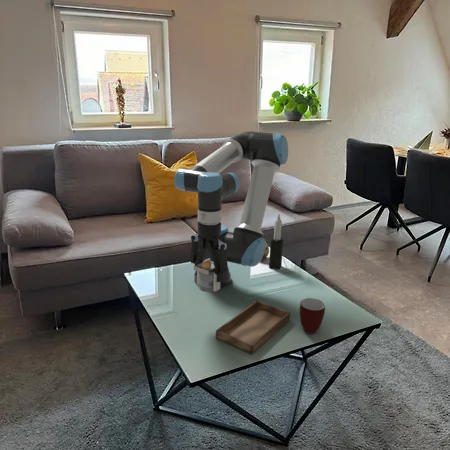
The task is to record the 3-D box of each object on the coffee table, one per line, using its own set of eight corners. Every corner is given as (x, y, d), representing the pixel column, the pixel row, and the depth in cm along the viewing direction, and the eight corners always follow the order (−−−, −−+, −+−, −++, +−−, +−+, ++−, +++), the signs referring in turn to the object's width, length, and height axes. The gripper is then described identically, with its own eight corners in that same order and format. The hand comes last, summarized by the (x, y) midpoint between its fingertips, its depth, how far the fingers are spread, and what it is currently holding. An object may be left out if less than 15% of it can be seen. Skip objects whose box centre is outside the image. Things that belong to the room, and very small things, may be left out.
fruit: (258, 263, 190) (258, 246, 187) (249, 256, 197) (250, 240, 194) (272, 260, 193) (273, 244, 190) (263, 254, 200) (264, 238, 197)
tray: (215, 338, 133) (216, 330, 132) (256, 307, 152) (256, 300, 151) (251, 354, 126) (252, 346, 125) (289, 320, 145) (290, 312, 144)
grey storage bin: (193, 288, 138) (193, 265, 135) (208, 280, 144) (208, 258, 142) (208, 294, 135) (208, 271, 132) (223, 286, 141) (223, 263, 138)
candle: (281, 265, 188) (285, 212, 180) (279, 270, 183) (283, 216, 175) (270, 263, 189) (274, 211, 181) (268, 268, 185) (271, 214, 177)
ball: (202, 266, 137) (199, 268, 134) (205, 258, 136) (202, 260, 133) (210, 270, 136) (207, 272, 133) (213, 262, 135) (210, 264, 133)
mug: (302, 318, 146) (305, 292, 143) (325, 323, 143) (328, 298, 140) (295, 333, 137) (297, 307, 134) (319, 339, 134) (322, 312, 131)
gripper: (178, 218, 134) (179, 282, 142) (227, 231, 124) (225, 299, 131) (193, 213, 140) (193, 274, 148) (241, 225, 129) (238, 291, 137)
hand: (208, 286), depth 139 cm, fingers closed on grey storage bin, 6 cm apart
